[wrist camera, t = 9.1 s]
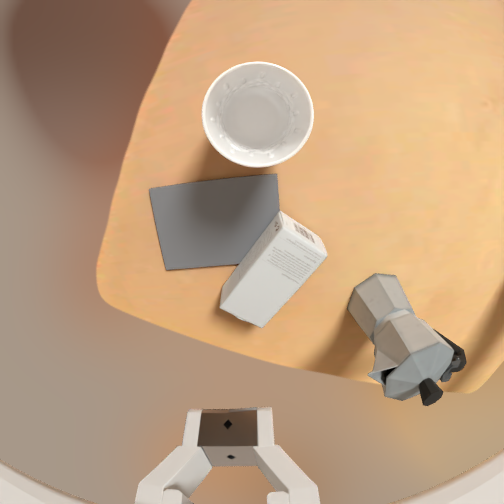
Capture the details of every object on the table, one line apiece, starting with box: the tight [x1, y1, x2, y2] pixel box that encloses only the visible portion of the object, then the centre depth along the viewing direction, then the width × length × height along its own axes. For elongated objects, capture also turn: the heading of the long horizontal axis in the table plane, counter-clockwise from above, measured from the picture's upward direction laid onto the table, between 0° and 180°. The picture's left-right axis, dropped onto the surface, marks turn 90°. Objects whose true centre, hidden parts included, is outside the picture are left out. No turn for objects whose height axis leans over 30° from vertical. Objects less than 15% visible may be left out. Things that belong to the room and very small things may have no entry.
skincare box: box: [220, 211, 327, 328], centre depth 32 cm, size 6×4×12 cm
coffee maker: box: [347, 273, 466, 406], centre depth 29 cm, size 15×9×18 cm, turn 83°
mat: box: [149, 174, 280, 270], centre depth 32 cm, size 14×10×1 cm
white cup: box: [202, 62, 314, 168], centre depth 23 cm, size 8×8×10 cm
